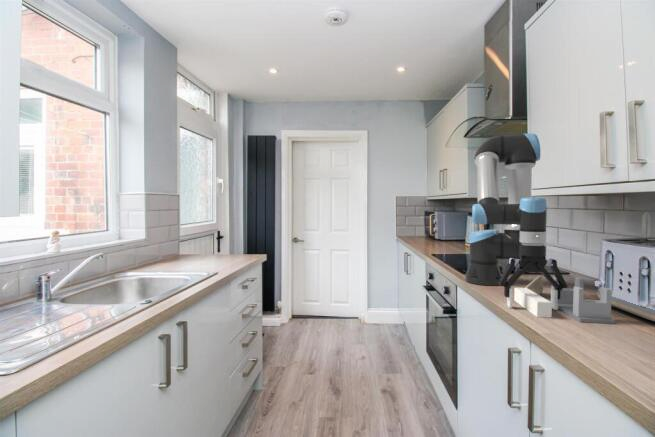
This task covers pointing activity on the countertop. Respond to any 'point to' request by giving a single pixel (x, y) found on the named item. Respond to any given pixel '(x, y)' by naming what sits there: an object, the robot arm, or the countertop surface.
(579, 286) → the bracket stand
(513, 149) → the robot arm
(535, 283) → the stone
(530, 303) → the rail
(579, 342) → the countertop surface
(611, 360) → the countertop surface
